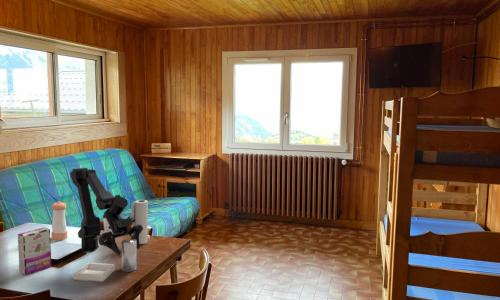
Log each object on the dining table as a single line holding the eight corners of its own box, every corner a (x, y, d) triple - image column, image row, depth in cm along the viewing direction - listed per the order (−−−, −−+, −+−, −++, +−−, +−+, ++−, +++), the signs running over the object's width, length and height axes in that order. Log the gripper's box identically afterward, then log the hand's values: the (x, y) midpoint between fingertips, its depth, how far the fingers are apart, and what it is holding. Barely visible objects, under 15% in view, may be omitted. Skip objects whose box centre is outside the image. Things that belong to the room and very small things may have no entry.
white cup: (104, 236, 207) (104, 217, 206) (102, 232, 214) (102, 214, 213) (120, 234, 210) (120, 216, 209) (117, 230, 217) (117, 212, 216)
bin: (73, 280, 155) (73, 273, 155) (88, 268, 166) (88, 262, 166) (102, 282, 154) (102, 275, 154) (114, 270, 165) (114, 264, 165)
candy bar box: (45, 264, 169) (44, 226, 168) (51, 266, 167) (51, 228, 165) (18, 272, 160) (17, 233, 158) (25, 275, 157) (23, 235, 155)
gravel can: (119, 271, 164) (119, 243, 163) (125, 265, 170) (124, 238, 169) (133, 272, 164) (133, 243, 163) (138, 266, 170) (138, 239, 169)
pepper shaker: (70, 237, 203) (69, 201, 201) (56, 241, 197) (56, 203, 195) (61, 235, 207) (61, 199, 205) (48, 238, 201) (47, 201, 199)
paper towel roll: (148, 240, 203) (149, 199, 200) (146, 244, 196) (146, 202, 194) (134, 240, 202) (134, 199, 200) (131, 244, 196) (131, 202, 194)
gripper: (101, 214, 161) (117, 247, 155) (141, 206, 175) (156, 236, 169) (92, 229, 166) (106, 261, 161) (130, 220, 181) (145, 249, 175)
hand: (129, 251), depth 166 cm, fingers open, 9 cm apart
